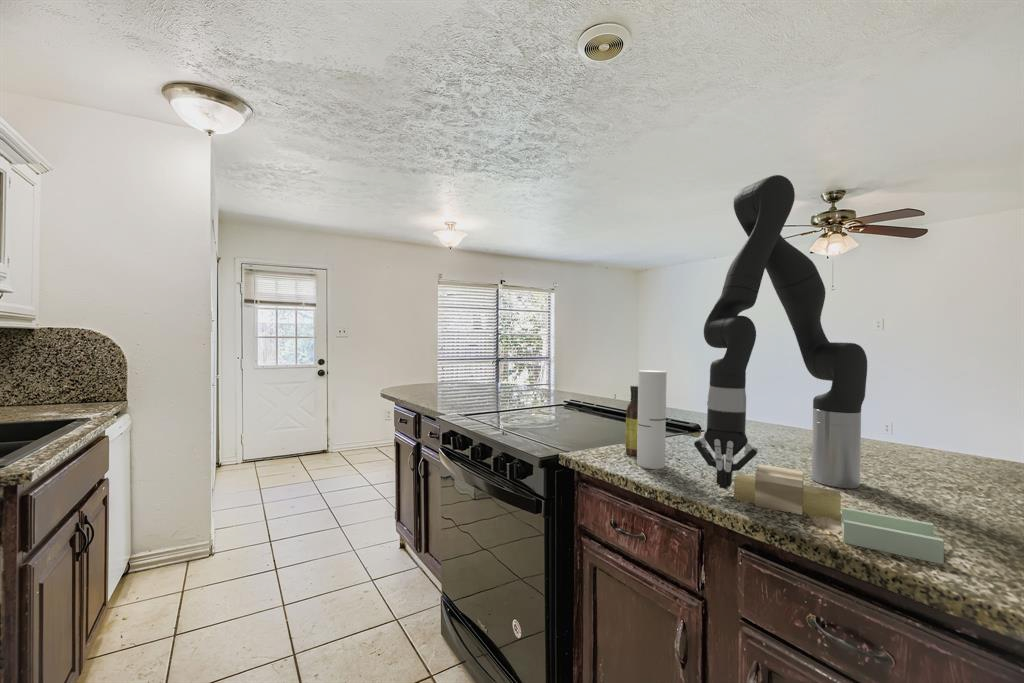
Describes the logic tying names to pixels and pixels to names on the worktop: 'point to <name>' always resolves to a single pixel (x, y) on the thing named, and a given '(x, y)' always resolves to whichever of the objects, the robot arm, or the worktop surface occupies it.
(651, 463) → the cylindrical container
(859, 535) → the cradle
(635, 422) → the sauce bottle
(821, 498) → the long yellowish block
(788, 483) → the beige u-shaped block
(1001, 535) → the worktop surface
